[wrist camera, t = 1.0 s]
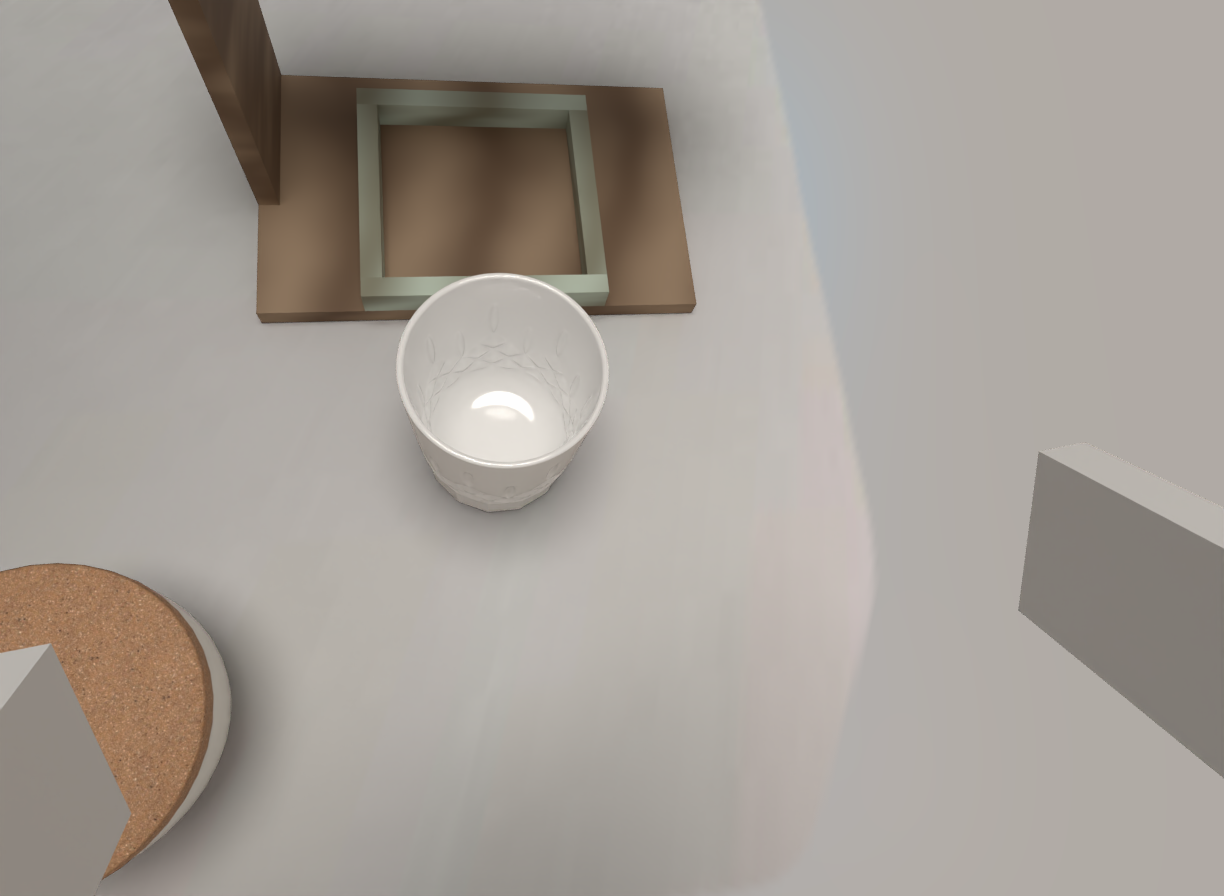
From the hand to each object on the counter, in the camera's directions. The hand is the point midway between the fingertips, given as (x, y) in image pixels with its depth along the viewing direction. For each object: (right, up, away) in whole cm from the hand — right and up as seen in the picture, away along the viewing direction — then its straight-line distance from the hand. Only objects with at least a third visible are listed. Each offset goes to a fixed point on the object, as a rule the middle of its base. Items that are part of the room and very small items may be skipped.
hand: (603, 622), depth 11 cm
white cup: (-6, +2, +28) cm, 29 cm away
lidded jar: (-20, -9, +22) cm, 31 cm away
